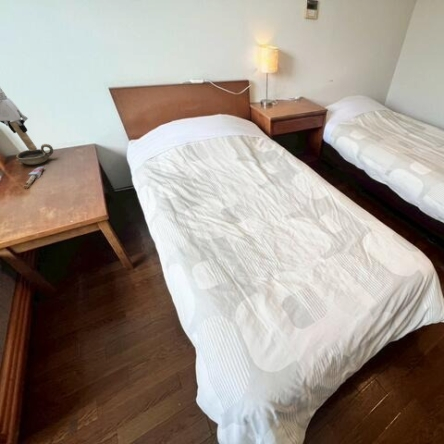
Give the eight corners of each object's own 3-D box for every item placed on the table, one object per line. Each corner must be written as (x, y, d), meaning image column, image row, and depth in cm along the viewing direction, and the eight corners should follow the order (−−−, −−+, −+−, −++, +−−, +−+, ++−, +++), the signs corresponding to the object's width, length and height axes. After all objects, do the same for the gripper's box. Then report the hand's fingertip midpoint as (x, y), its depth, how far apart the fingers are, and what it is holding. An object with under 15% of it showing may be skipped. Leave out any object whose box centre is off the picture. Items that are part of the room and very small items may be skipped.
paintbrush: (43, 164, 143) (28, 185, 130) (46, 168, 145) (31, 189, 132) (35, 164, 142) (19, 185, 129) (38, 168, 144) (22, 189, 131)
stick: (27, 150, 142) (7, 123, 131) (30, 148, 145) (11, 120, 134) (35, 150, 143) (16, 123, 132) (38, 147, 146) (19, 120, 135)
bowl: (22, 160, 149) (10, 144, 143) (58, 153, 158) (49, 139, 151) (21, 170, 142) (9, 155, 135) (59, 163, 150) (49, 148, 143)
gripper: (-30, 99, 120) (-2, 135, 132) (12, 98, 124) (36, 134, 136) (-21, 94, 125) (5, 129, 137) (19, 94, 129) (41, 128, 142)
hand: (20, 131), depth 137 cm, fingers closed on stick, 3 cm apart
